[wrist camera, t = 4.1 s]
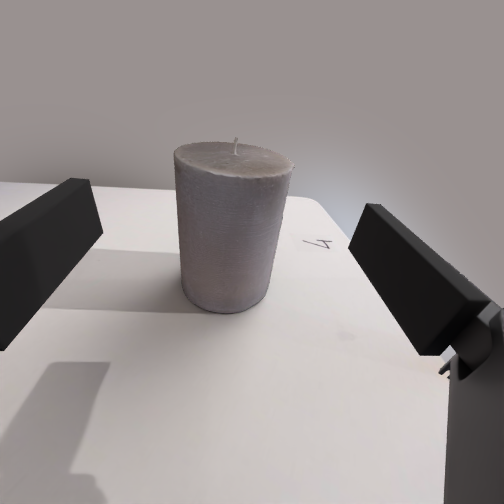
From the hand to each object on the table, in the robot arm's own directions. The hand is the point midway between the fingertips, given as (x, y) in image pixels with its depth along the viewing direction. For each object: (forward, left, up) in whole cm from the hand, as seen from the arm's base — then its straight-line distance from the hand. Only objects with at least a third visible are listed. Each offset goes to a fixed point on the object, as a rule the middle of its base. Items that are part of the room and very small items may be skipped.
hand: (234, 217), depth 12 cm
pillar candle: (+6, -7, -13) cm, 17 cm away
